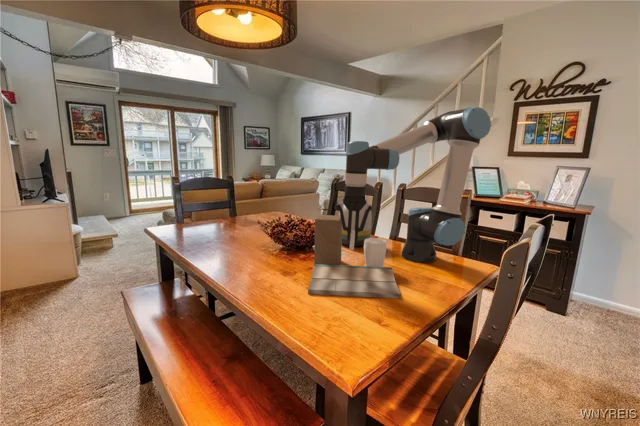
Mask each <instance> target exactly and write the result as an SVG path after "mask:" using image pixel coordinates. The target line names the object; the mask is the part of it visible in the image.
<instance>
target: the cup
mask: <svg viewBox="0 0 640 426" xmlns="http://www.w3.org/2000/svg"><path fill="white" fill-rule="evenodd" d="M363 254H364V263H365V265H364V266H368V267H384V263H385V258H386V254H387V240H386V239H383V238H377V237H370V238H367V239H365V240H364V245H363Z"/></svg>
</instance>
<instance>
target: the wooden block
mask: <svg viewBox="0 0 640 426" xmlns="http://www.w3.org/2000/svg"><path fill="white" fill-rule="evenodd" d="M342 244H343V243H342V221H341V216H339V215H331V214H329V215H328V214H320V215H318V216H317V217H316V218H314V258H313V259H314V262H313V265H314V264H322V265H340V263H341V261H342Z"/></svg>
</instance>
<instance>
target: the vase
mask: <svg viewBox="0 0 640 426" xmlns="http://www.w3.org/2000/svg"><path fill="white" fill-rule="evenodd" d="M342 209H343V214H344V219H345V224H346V227H348V214H349V210H348V209H347V208H346V206H345V205H343V208H342ZM365 210H366V209H365V206H364V207H363V208H362V209H361V210H360V212H359V227H360V225H361V222H362V218H363V215H364V212H365ZM355 214H356V211H352V224H351V231H355ZM372 215H373V213H372V209H371V210H370V211H369V214H368V217H367V220H366V223H365V226H364V229H363V231H360V232H358V240H357V241H354V247H361V246H364V240H365V239H367V238H372V237H371V236H372V222H373V221H372V219H373V218H372ZM338 216H340V211H339V210H338ZM359 227H358V228H359ZM342 244H344V245H345V246H349V247H350V241H349V240H347V231H345V230H343V227H342Z"/></svg>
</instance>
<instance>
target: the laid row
mask: <svg viewBox="0 0 640 426" xmlns="http://www.w3.org/2000/svg"><path fill="white" fill-rule="evenodd" d="M307 294H308V295H324V296H325V295H326V296H328V295H329V296H345V297H346V296H347V297H363V298H364V297H365V298H383V299H385V298H386V299H401V292H400V290H399V287H398V284H397V282H395V283H394V282H372V281H351V280H329V279H311V278H310V281H309V285H308V289H307Z"/></svg>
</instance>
